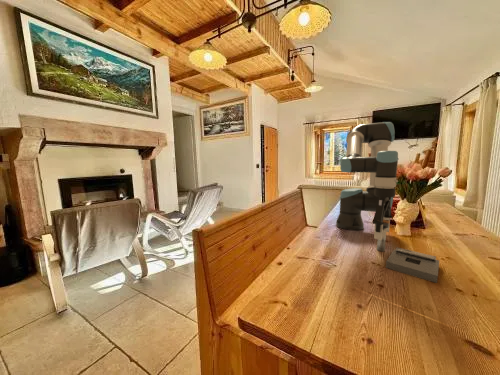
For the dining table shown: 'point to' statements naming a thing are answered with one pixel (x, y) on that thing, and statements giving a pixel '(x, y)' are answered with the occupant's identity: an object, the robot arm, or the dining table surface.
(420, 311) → the dining table surface
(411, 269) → the grey flat square block
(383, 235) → the key
